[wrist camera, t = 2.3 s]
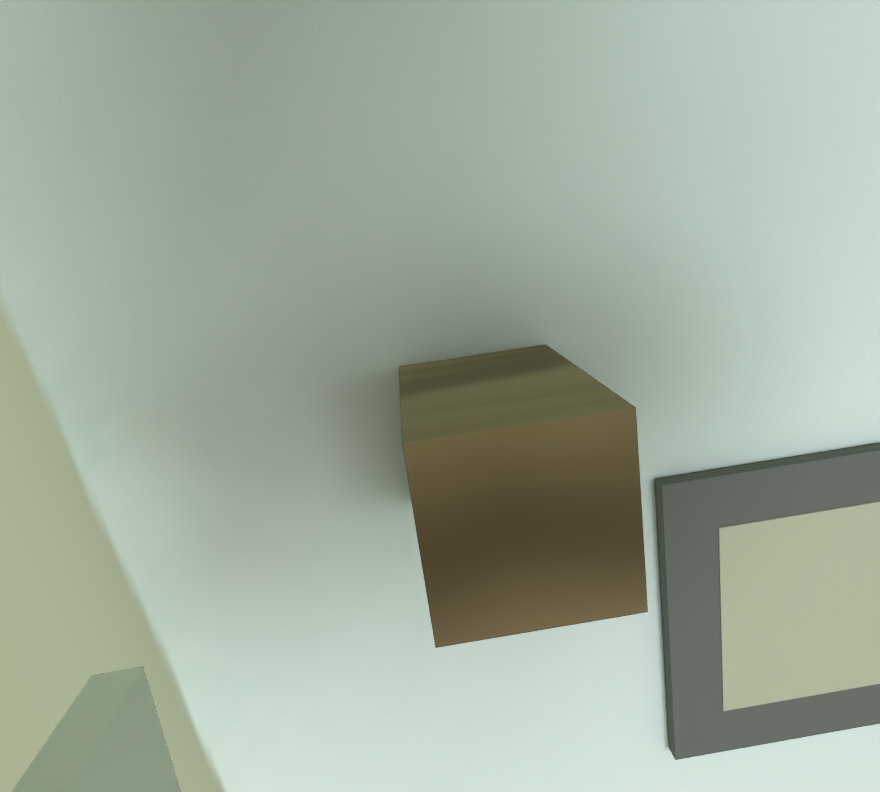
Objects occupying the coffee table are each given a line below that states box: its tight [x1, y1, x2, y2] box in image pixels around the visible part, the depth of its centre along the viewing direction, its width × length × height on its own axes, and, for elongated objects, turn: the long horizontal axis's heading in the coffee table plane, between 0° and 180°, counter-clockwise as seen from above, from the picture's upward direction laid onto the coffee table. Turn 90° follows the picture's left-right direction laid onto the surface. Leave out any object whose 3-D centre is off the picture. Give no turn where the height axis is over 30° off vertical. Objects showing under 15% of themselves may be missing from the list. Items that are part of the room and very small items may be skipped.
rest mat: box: [655, 443, 880, 760], centre depth 24 cm, size 12×12×1 cm
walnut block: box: [399, 345, 648, 648], centre depth 17 cm, size 5×5×8 cm
